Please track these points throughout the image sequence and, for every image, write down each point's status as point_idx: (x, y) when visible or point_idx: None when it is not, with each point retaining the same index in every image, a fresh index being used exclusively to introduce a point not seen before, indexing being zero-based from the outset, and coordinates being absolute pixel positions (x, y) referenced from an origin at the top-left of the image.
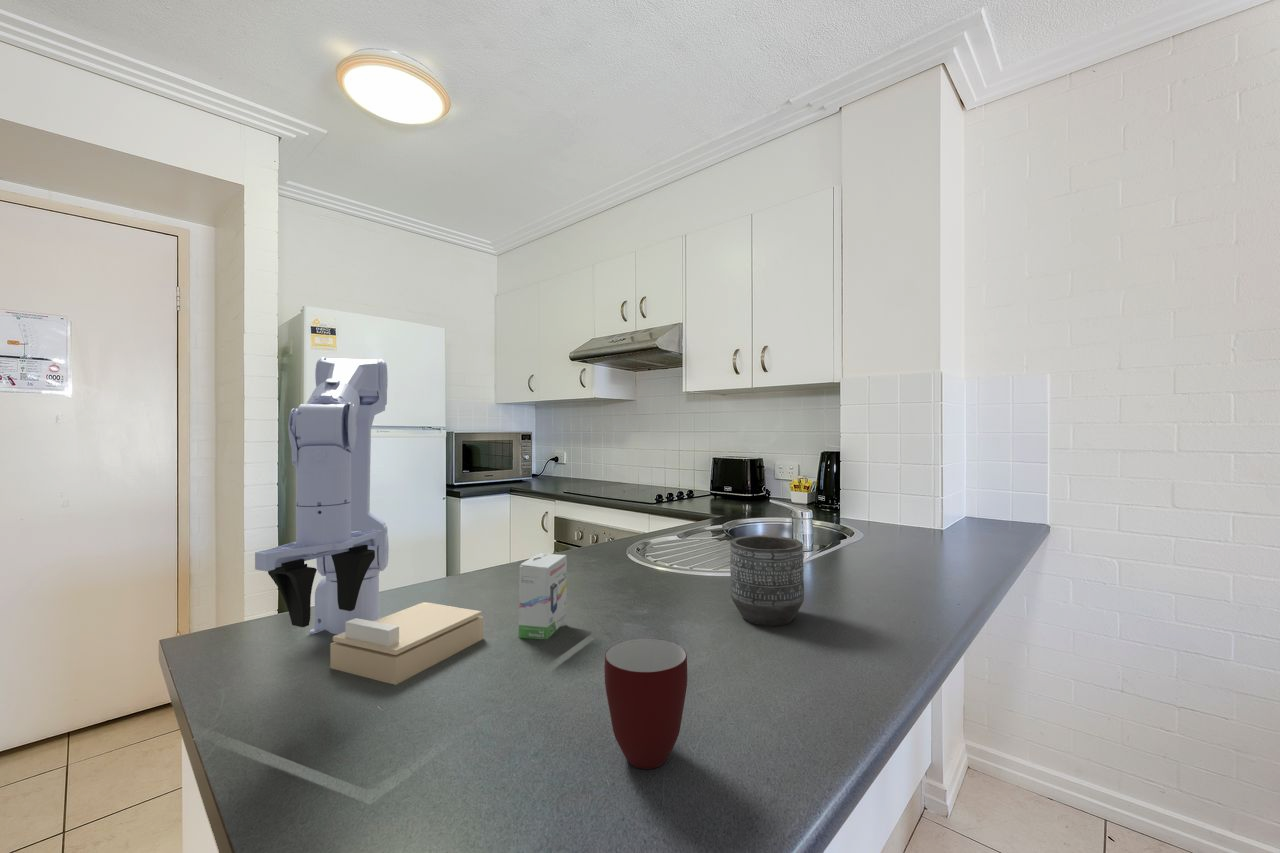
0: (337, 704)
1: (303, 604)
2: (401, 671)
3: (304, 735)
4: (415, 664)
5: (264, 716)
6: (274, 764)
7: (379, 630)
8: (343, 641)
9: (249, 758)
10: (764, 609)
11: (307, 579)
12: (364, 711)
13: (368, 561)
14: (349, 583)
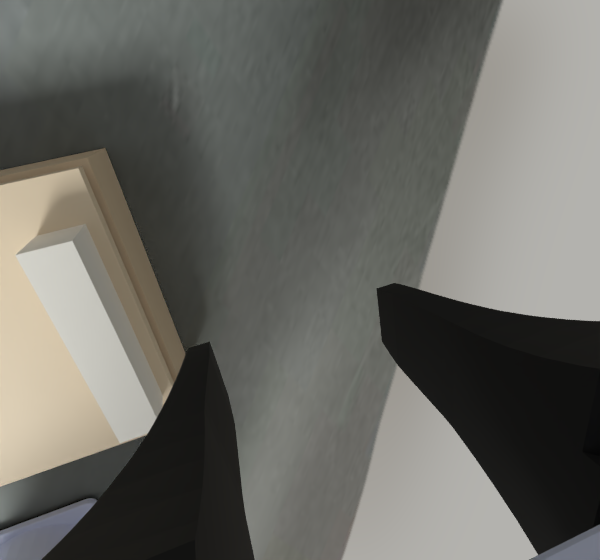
0: (237, 201)
1: (463, 302)
2: (73, 157)
3: (335, 119)
4: (12, 170)
5: (343, 265)
6: (411, 54)
7: (95, 285)
8: (172, 381)
9: (420, 122)
10: None
11: (579, 339)
12: (210, 110)
13: (96, 539)
14: (218, 441)
